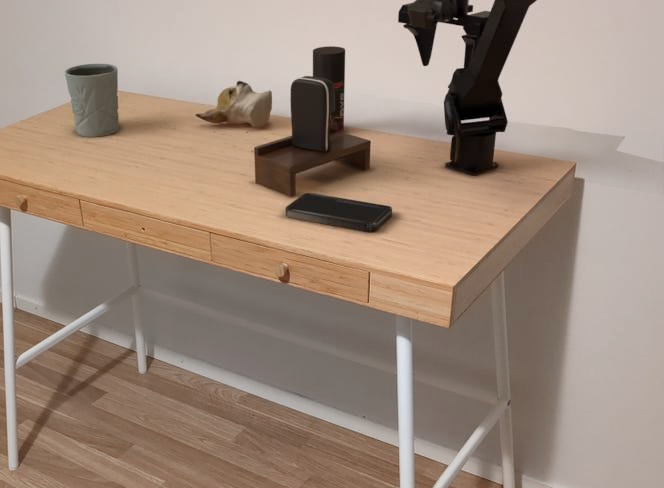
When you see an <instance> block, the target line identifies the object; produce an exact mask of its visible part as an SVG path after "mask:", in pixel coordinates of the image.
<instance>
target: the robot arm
mask: <svg viewBox="0 0 664 488" xmlns="http://www.w3.org/2000/svg"><path fill="white" fill-rule="evenodd" d="M537 1H538V0H494V1H493V4H492V7H491V10H490V11H488V10H482V11H479V12H475V13H473V11H474V5H473V4H469V3H470V0H414V1H413V2H410V3H405V4H402V5H401V7H400V8H399V10H398V14H397V15H398V16H397V22H398V24H399V23H400V24H403V26H402V27H403V28H404V29H407V30H408V31H409V33H411V34H412V35H413V37H414V40H415V43H416V46H417V51H418V53H419V57H420V60H421V64H422V66H423V67H428V66H429V65H430V61H431V58H432V54H433V47H434V43H435V37H436V31H437V28H438V27H437V26H438V23H441V24H447V25H454V26H460V27H462V30H463V31H464V33H465V34H462V35H461V39H462V40H463V42H464V45H465V47H464V57H463V58H464V60H463V67H460V68H456V69H455V70H454V71H453V73H452V77H451V81H450V83H449V84H448V85H447V89H448V90H447V93H446V94H445V97H444V100H443V112H444V126H445V131H446V135H448V136H451V141H450V152H449V153H450V154H449V160H450V161H447V162H445V163H444V167H445V168H448V169H451V170H454V171H458V172H462V173H465V174H467V175H470V176H477V175H481V174H482V173H485V172H487V171H490V170H493V169H495V168H498V167H499V162H496V161H494V157H495V146H496V138H497V133H505V132H506V130H507V126H508V123H509V122H508V121H509V120H508V118H507V117H508V116H507V113H506V110H505V106H504V103H503V99H502V97H503V91H502V88H501V84H500V82H499V79H500V76H501V74H502V72H503V69H504V67H505V65H506V62H507V60H508V58H509V55H510V52H511V50H512V48H513V46H514V43H515V41H516V39H517V37H518V34H519V32H520V29H521V27H522V25H523V22H524V20H525V18H526V16H527V13H528V11H529V8H530V7H531V6H532V5H533V4H534V3H536V2H537ZM469 13H471V14H469ZM487 118H488V119H487ZM479 119H487V120H479ZM471 120H477V121H471ZM462 121H468V122H462ZM469 121H470V122H469Z"/></svg>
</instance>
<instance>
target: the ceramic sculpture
mask: <svg viewBox="0 0 664 488" xmlns="http://www.w3.org/2000/svg"><path fill="white" fill-rule="evenodd" d="M272 92H273V91H271V90H268V91H267V90H266V91H263V92H256V91H254V90H253V89H252V86H251V85H250V84H248V83H247V82H244V81H242V80H238V81H236V84H235V86H234V85H232V86H229V87H226V88H225V89H223V90H222V91H221V92H220V94H219V95H218V96H217V105H216V107H215V108H213V109H208V110H206V111H205V112H202V113H196V114H195V117H197V118H198V119H201V120H203V121H205V122H207V123H211V124H222V123H227V124H229V125H243V124H247V123H249V124H250V125H251V126H252V127H253V128H262V127H265V126H266V124H267V123H268V121H269V120H270V116H271V112H272V109H273V93H272Z"/></svg>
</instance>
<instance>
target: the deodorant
mask: <svg viewBox="0 0 664 488" xmlns="http://www.w3.org/2000/svg"><path fill="white" fill-rule="evenodd" d="M312 76H313V77H320V78H325V79H328V80H330V81H331V82H332V83H333V85H334V90H335V110H334V111H333V112H331V113H330V124H331V123H337V124H338V130H337V131H341V132H344V131H345V89H346V88H345V87H346V86H345V84H346V82H345V81H346V49H345V47H341V46H335V45H334V46H331V45H330V46H319V47H315V48H314V49H312Z"/></svg>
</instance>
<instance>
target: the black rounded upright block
mask: <svg viewBox="0 0 664 488" xmlns="http://www.w3.org/2000/svg"><path fill="white" fill-rule="evenodd" d="M334 110H335V90H334V85H333V83H332V82H331V81H330V80H328V79H325V78H320V77H313V75H312V76H311V75H304V76H301V77H297V78H295V79H293V81H292V83H291V85H290V119H291V136H292V145H293V146H296V147H300V148H304V149H308V150H314V151H321V152H325V151H327V150H328V149H330V148H331V141H330V135H329V128H330V113H331V112H333V111H334Z"/></svg>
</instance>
